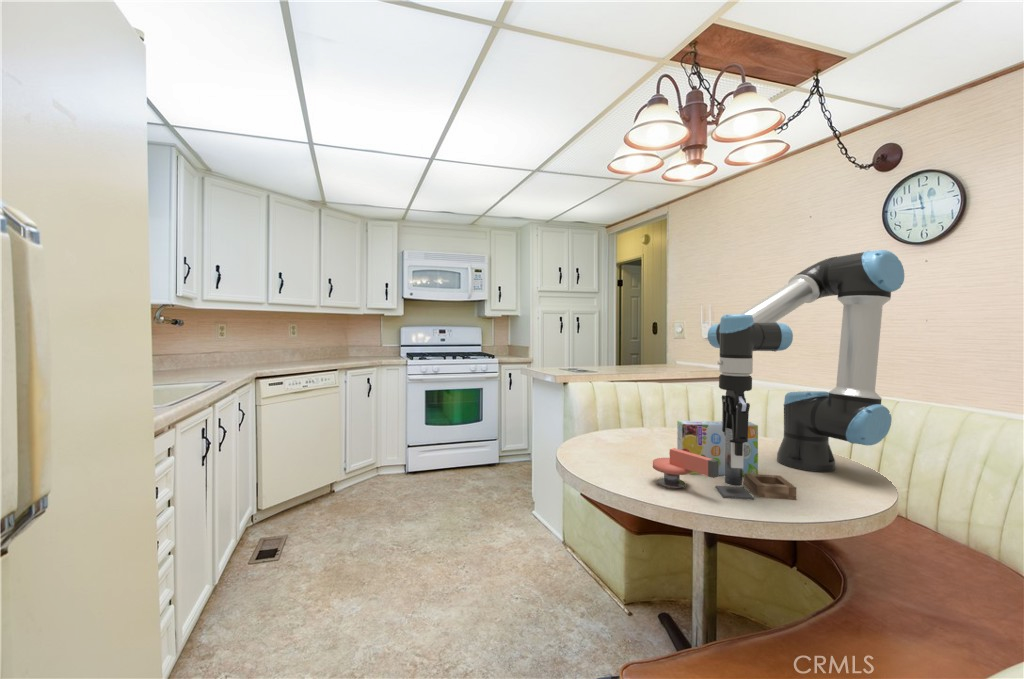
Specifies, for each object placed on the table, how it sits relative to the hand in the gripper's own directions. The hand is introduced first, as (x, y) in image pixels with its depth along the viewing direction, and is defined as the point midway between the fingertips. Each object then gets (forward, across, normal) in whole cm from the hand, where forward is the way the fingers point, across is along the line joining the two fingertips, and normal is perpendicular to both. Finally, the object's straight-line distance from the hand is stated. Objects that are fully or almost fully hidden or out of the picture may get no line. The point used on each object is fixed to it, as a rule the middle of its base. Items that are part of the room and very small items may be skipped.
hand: (733, 464), depth 109 cm
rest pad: (+8, 0, 0) cm, 8 cm away
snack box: (+8, -17, +1) cm, 18 cm away
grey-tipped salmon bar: (+3, -1, -12) cm, 12 cm away
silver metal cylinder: (+5, 0, 0) cm, 5 cm away
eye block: (+7, -3, +10) cm, 13 cm away
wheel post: (+8, -4, -14) cm, 17 cm away
